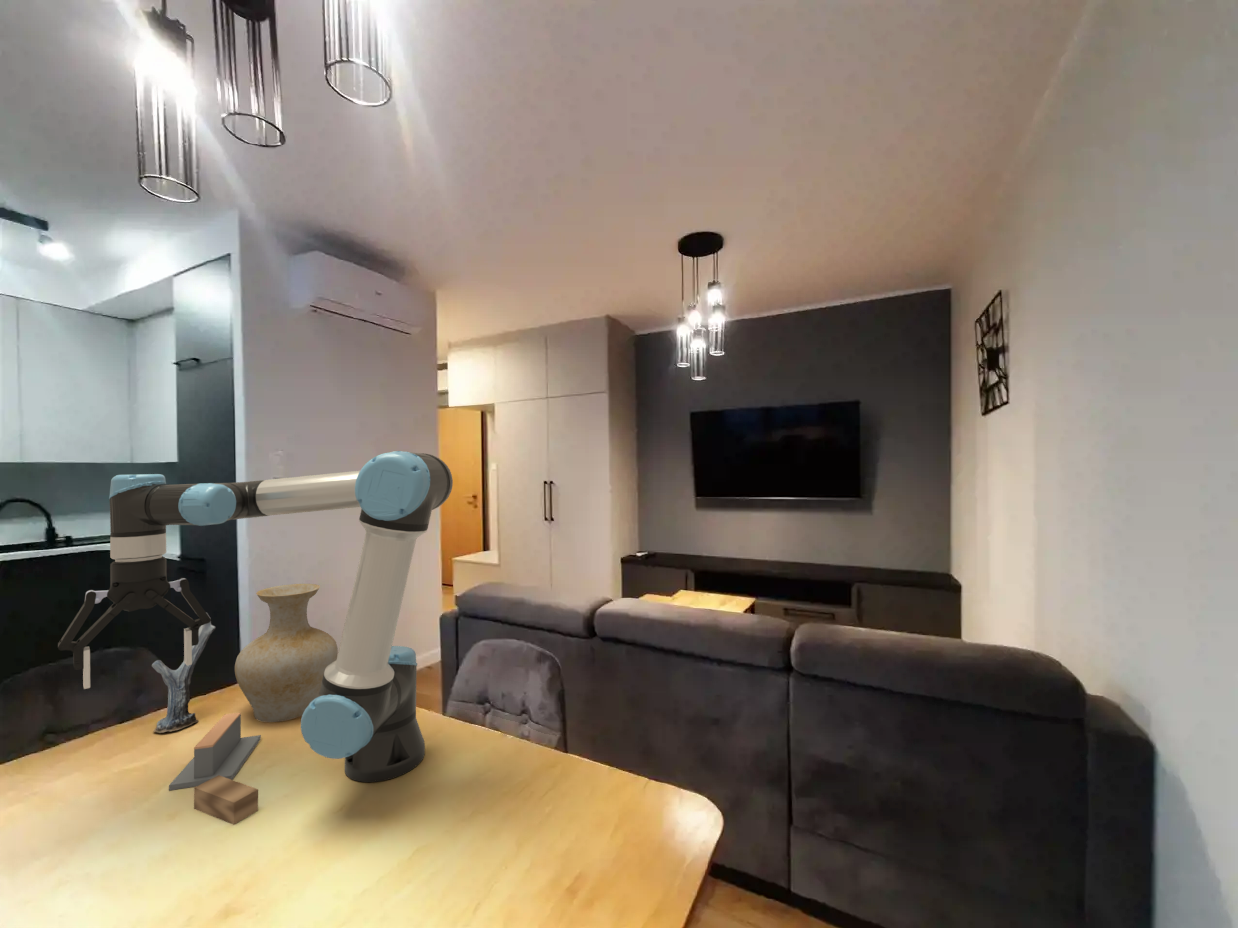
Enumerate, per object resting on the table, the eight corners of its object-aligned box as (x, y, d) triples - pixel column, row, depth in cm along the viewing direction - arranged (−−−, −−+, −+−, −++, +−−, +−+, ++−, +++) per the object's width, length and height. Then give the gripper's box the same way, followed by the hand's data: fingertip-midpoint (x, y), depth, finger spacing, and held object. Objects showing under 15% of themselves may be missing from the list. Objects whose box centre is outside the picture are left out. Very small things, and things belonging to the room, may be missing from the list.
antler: (164, 737, 116) (165, 626, 116) (144, 730, 119) (145, 622, 119) (220, 714, 127) (221, 613, 127) (200, 709, 130) (201, 609, 130)
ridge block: (260, 739, 115) (261, 707, 115) (231, 780, 100) (232, 744, 100) (207, 746, 112) (207, 714, 112) (168, 790, 97) (169, 753, 97)
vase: (254, 695, 137) (254, 583, 138) (345, 685, 144) (345, 578, 144) (217, 736, 117) (218, 603, 117) (326, 722, 123) (327, 596, 123)
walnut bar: (257, 811, 92) (258, 789, 92) (233, 826, 88) (234, 802, 88) (218, 796, 96) (218, 775, 96) (194, 809, 92) (194, 787, 92)
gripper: (219, 547, 106) (220, 650, 106) (36, 566, 88) (37, 691, 88) (227, 551, 101) (228, 659, 101) (36, 571, 83) (36, 704, 83)
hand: (140, 674), depth 94 cm, fingers open, 13 cm apart
